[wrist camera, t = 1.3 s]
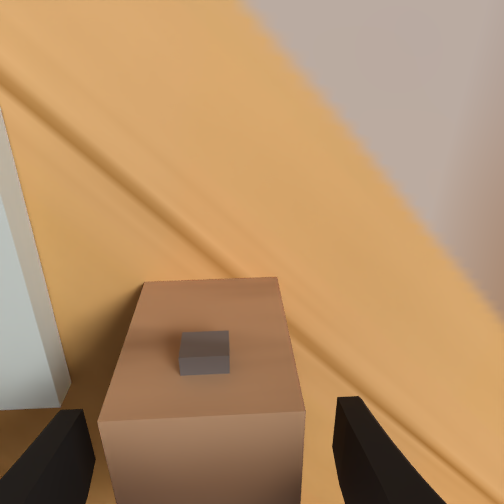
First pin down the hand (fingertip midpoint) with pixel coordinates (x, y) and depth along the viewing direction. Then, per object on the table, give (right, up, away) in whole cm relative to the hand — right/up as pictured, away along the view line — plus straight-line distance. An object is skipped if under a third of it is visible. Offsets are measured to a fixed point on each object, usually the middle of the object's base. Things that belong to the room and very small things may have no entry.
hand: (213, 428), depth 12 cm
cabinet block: (0, +2, +4) cm, 4 cm away
